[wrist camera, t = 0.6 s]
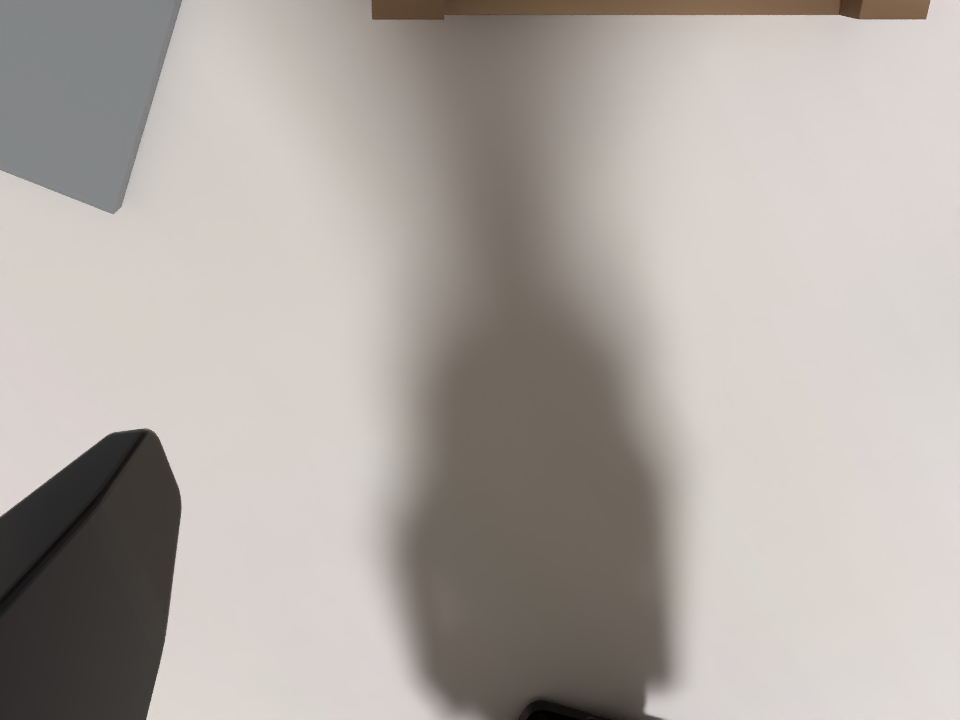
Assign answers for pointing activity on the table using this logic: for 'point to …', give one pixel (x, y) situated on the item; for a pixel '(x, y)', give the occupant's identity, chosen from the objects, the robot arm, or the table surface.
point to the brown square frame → (650, 8)
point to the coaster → (79, 91)
